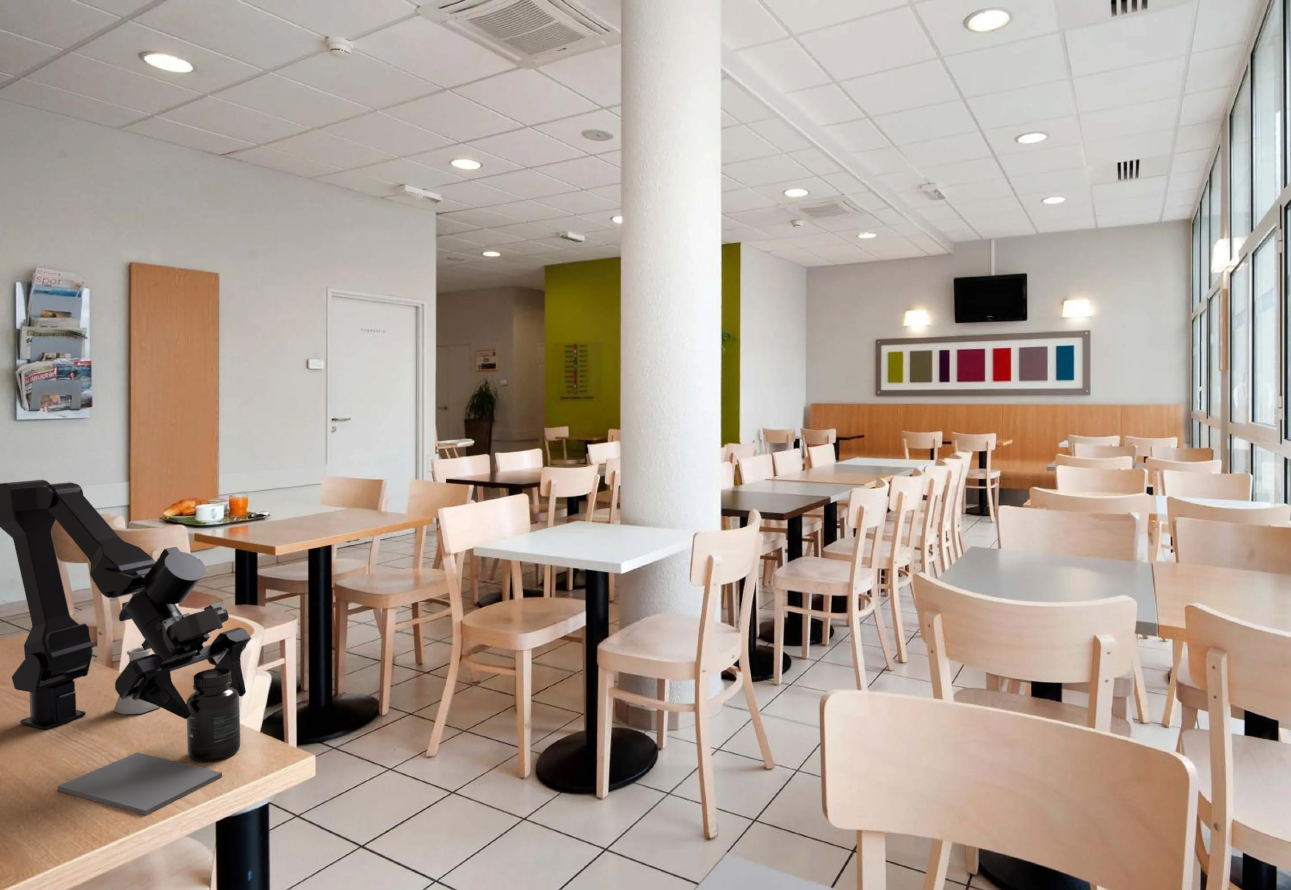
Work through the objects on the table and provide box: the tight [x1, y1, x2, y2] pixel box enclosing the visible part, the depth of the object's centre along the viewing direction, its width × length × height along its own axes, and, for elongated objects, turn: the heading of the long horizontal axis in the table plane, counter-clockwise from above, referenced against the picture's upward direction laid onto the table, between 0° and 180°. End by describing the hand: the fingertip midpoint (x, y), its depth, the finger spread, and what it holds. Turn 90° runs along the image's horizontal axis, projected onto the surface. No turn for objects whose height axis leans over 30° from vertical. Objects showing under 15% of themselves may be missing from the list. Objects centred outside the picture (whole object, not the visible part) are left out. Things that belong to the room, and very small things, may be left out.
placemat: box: [56, 751, 223, 816], centre depth 107 cm, size 17×11×1 cm, turn 68°
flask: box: [113, 646, 160, 715], centre depth 134 cm, size 7×7×10 cm
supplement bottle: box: [185, 668, 241, 764], centre depth 116 cm, size 7×7×12 cm
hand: (217, 705), depth 116 cm, fingers open, 9 cm apart
